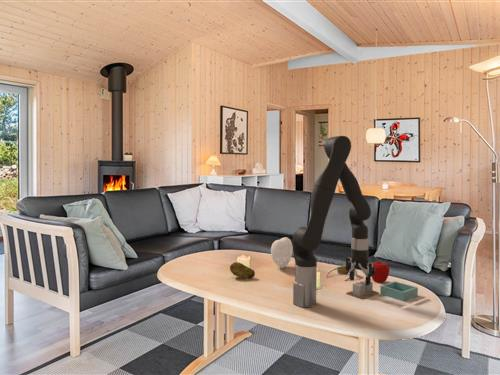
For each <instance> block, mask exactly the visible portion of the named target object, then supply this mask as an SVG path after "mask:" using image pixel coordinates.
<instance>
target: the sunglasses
mask: <svg viewBox="0 0 500 375" xmlns="http://www.w3.org/2000/svg"><path fill="white" fill-rule="evenodd" d="M333 271H336V272H337V274H341V275H343V274H345V275H348V274H349V271H348V270H346V265H339V266H337V267H335V268H333V269H331V270H330V271H328V272H327V274H326V277H325V278H326V279H327V278H328V276H329V274H330V273H332V272H333ZM354 277H355V278H357V277H358V269H355V270H354ZM343 281H344V282H347V281H350V278H349V277H348V278H346V279H345V280H343Z"/></svg>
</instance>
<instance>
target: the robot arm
mask: <svg viewBox="0 0 500 375" xmlns="http://www.w3.org/2000/svg"><path fill="white" fill-rule="evenodd" d="M323 149H324V152H325V155H326V156H327V158H328V162H327V164H326V166H325V168H324V169H323V171H322V172H321V173H320V174H319V175H318V177H317V179H316V180H315V183H314V185H313V188H312V191H311V193H310V199H309V200H310V201H309V202H310V217H309V221H308V224H307V226H299V227H298V228H296V229H295V230H294V233H293V236H292V237H293V238H292V246H293V252H292V256H293V258H294V261H295V262H294V264H295V266H294V282H292V283H293V285H292V286H293V287H292V288H293V289H292V296H293V297H292V298H293V299H292V304H293V305H295V306H298V307H300V308H313V307H315V306H316V305H317V282H318V281H317V277H318V276H317V273H318V272H317V271H318V270H317V268H318V265H317V264H318V260H317V259H318V258H316V256H315V254H314V253H313V251H315V250H317V248H319V245H320V243H321V241H322V237H323V232H324V227H325V224H326V220H327V217H328V214H329V210H330V207H331V205H332V201H333V199H334V196H335V193H336V189H337V186H338V183H339V181H340V183H341V187H342V190H343V192H344V195H345V197H346V199H347V201H348V202H350V203H351V205H350V207H349V209H348V210H349V211H348V218H349V222H350V226H351V241H350V242H351V243H350V244H351V246H350V247H351V248H350V250H351V256H349V257H346V259H345V266H346V270H348V271H349V273H348V274H349V277H348V278H350V279H349V281H351V282H352V281H354V280H355V276H354V270H355V269H356V270H359V271H362V273H363V274H364V275H365V280H366V285H369V284H370V283H371V282H372V281H371V280H372V276H374V275H375V268H374V263H373V262H370V261H369V260H368V259H369V228H368V226H367V225H366V224H365V222H364V221H368V220H369V219H370V217H371V215H372V209H371V207H370V204H369V203H368V201H367V199H366V198H365V196H364V194H363V193H362V189H361V187H360V184H359V182H358V179H357V177H356V176H355V174H354V173H353V172H352V170H351V169H350V168H349V166H348V165H347V160H348V158H349V156H350V153H351V151H352V141H351V140H350V138H349V137H348V136H346V135H337V136H331V137H328V138H327V139H326V140H325V142H324V145H323Z"/></svg>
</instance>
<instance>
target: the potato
mask: <svg viewBox="0 0 500 375" xmlns="http://www.w3.org/2000/svg"><path fill="white" fill-rule="evenodd" d="M229 269H230V272H231V273H232V275H234V276H235V277H237V278H239V279H241V278H242V279H241V280H249V279H252V278H254V277H255V275H256V273H255V271H254V269H252V268H251V267H249V266H247V265H245V264H243V263H241V262H239V261H238V262H236V261H235V262H233V263H232V264H230V265H229Z"/></svg>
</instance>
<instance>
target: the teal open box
mask: <svg viewBox="0 0 500 375" xmlns="http://www.w3.org/2000/svg"><path fill="white" fill-rule="evenodd" d="M379 288H380V289H379V290H380V291H379V292H380V293H379V294H380V295H381V296H385V297H388V298H392V299H394V300H398V301H400V302H406V301H408V300H410V299H413V298H416V297H419V296H418V292H419V290H418V289H419V287H418V286H414V285H410V284H406V283H404V282H399V281H396V280H394V281H391V282H388V283H385V284H382V285H380V287H379Z"/></svg>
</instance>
